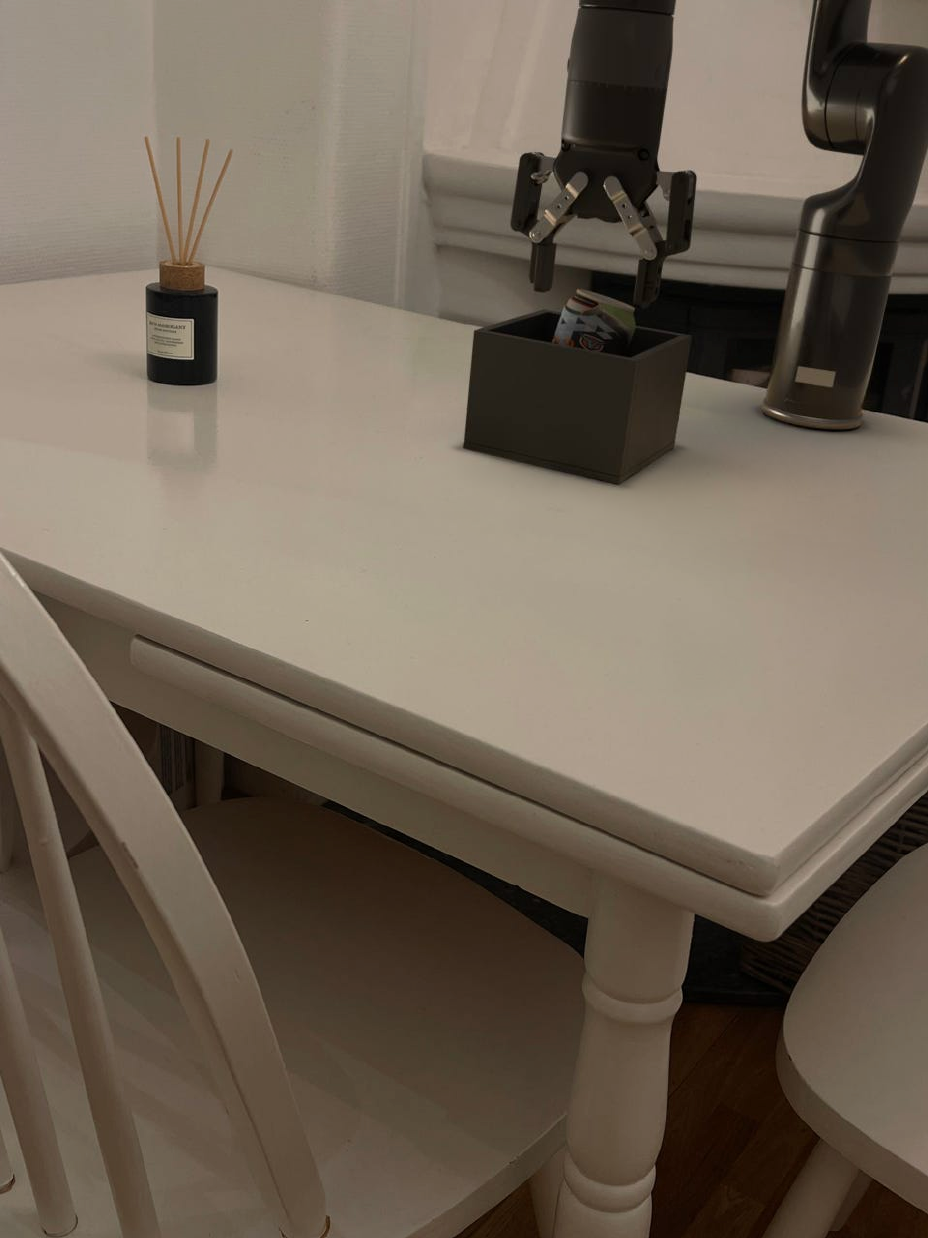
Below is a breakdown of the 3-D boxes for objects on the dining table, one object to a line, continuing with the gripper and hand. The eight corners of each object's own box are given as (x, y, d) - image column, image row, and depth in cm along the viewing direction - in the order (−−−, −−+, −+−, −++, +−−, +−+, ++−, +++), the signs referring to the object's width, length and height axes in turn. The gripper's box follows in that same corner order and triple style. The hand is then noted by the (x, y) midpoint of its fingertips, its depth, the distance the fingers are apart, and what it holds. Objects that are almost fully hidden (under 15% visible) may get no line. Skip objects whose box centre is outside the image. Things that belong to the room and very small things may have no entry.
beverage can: (512, 424, 106) (538, 280, 102) (587, 428, 110) (615, 288, 105) (546, 446, 101) (575, 296, 97) (623, 450, 104) (655, 304, 100)
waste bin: (531, 416, 114) (543, 308, 110) (674, 446, 108) (692, 335, 105) (462, 448, 102) (473, 329, 99) (618, 484, 97) (636, 360, 93)
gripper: (724, 88, 94) (690, 307, 101) (550, 72, 100) (529, 280, 106) (693, 86, 88) (659, 320, 95) (510, 69, 94) (490, 290, 100)
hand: (590, 298), depth 101 cm, fingers open, 8 cm apart
